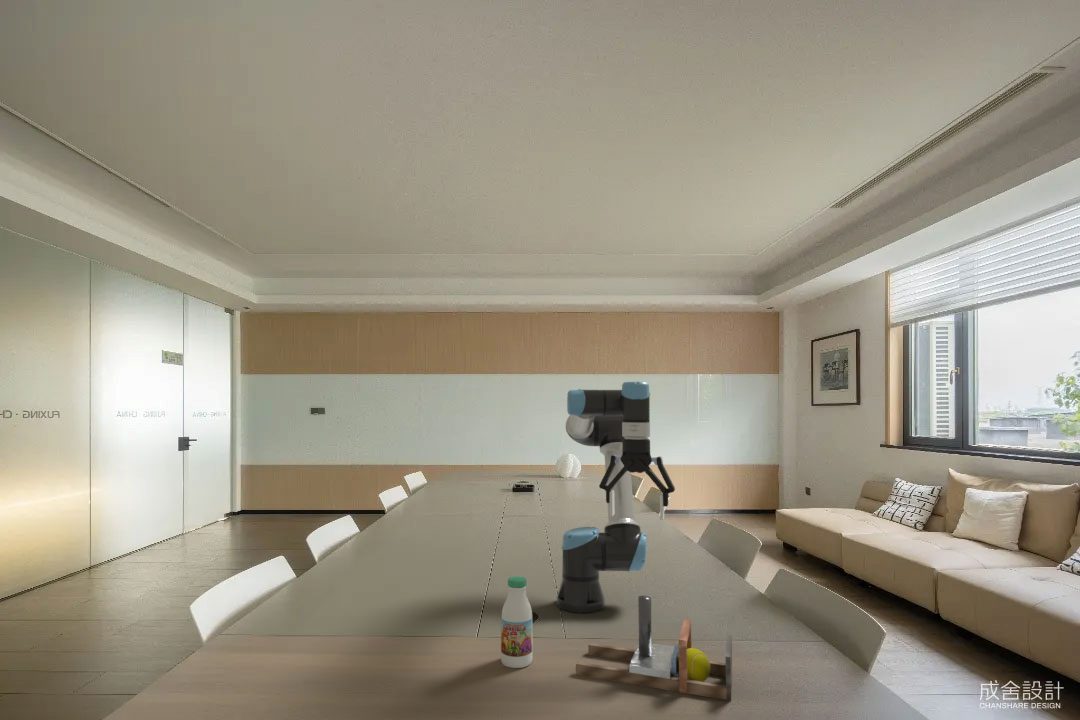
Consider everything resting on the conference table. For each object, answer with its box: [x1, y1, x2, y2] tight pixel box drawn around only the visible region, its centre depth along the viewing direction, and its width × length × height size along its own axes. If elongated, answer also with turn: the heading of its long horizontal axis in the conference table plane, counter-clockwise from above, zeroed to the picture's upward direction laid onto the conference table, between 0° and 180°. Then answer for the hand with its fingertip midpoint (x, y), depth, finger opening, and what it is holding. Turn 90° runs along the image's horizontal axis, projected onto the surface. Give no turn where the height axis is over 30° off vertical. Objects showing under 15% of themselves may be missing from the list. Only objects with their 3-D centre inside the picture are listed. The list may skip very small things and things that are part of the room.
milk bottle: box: [500, 575, 533, 669], centre depth 140 cm, size 8×8×20 cm
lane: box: [575, 619, 733, 701], centre depth 133 cm, size 34×13×11 cm, turn 70°
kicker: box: [628, 595, 679, 679], centre depth 134 cm, size 10×14×17 cm
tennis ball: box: [678, 647, 710, 682], centre depth 130 cm, size 7×7×7 cm
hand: (636, 517), depth 154 cm, fingers open, 13 cm apart
